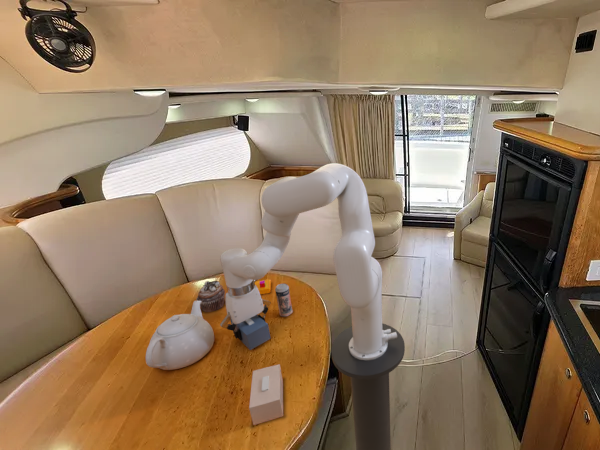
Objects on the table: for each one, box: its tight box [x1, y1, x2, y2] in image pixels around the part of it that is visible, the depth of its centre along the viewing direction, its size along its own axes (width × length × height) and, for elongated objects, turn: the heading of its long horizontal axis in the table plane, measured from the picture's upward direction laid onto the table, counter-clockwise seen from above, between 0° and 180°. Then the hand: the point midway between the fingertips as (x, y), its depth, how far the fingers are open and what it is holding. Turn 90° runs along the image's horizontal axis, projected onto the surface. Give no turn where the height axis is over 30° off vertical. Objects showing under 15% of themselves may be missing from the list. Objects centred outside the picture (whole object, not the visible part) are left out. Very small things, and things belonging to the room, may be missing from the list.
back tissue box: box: [229, 314, 272, 351], centre depth 104 cm, size 12×7×6 cm, turn 50°
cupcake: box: [196, 280, 226, 313], centre depth 121 cm, size 10×10×10 cm
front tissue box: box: [248, 363, 284, 426], centre depth 82 cm, size 12×7×6 cm, turn 20°
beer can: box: [274, 283, 294, 317], centre depth 116 cm, size 5×5×12 cm
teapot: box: [145, 300, 215, 371], centre depth 97 cm, size 19×18×14 cm
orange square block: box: [255, 278, 272, 295], centre depth 133 cm, size 8×8×4 cm
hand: (251, 332), depth 104 cm, fingers closed on back tissue box, 7 cm apart
